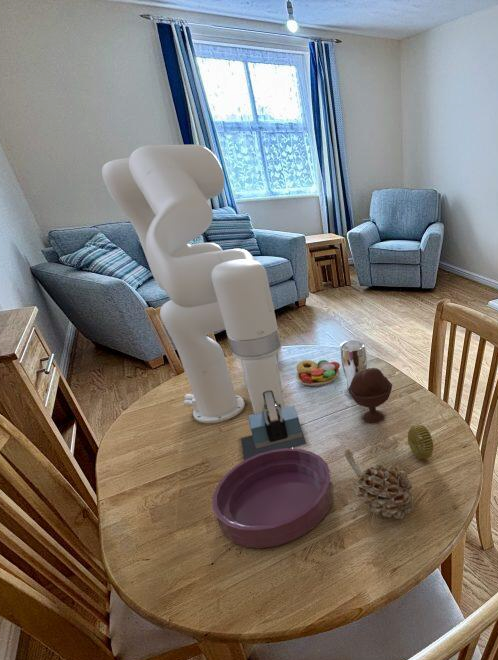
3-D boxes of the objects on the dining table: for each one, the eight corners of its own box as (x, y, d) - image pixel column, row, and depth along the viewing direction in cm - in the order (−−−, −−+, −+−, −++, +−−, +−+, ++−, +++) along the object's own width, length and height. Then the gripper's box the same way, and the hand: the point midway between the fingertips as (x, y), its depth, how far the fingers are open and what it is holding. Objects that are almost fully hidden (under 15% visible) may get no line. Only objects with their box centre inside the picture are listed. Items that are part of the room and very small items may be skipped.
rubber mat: (244, 461, 93) (243, 460, 93) (241, 439, 100) (241, 438, 100) (306, 444, 98) (306, 443, 98) (299, 424, 105) (299, 423, 105)
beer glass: (346, 386, 122) (340, 340, 114) (370, 385, 122) (366, 339, 114) (344, 399, 116) (338, 351, 108) (369, 398, 116) (364, 350, 108)
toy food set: (297, 368, 131) (295, 359, 129) (339, 364, 134) (338, 355, 132) (295, 390, 120) (294, 380, 118) (342, 384, 122) (340, 375, 121)
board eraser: (256, 448, 73) (250, 428, 70) (253, 434, 76) (248, 415, 74) (302, 436, 76) (298, 417, 73) (297, 423, 79) (294, 404, 77)
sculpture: (405, 448, 97) (404, 420, 93) (420, 442, 99) (419, 415, 95) (420, 468, 91) (420, 440, 87) (436, 462, 93) (436, 434, 89)
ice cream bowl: (396, 406, 112) (394, 358, 105) (389, 431, 103) (385, 380, 95) (358, 404, 113) (353, 356, 106) (347, 428, 104) (341, 377, 96)
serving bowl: (197, 546, 74) (187, 525, 71) (251, 464, 92) (245, 445, 90) (313, 554, 73) (309, 533, 70) (345, 469, 91) (342, 450, 88)
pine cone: (429, 513, 81) (429, 475, 75) (392, 543, 75) (389, 504, 70) (360, 460, 94) (356, 425, 89) (324, 482, 88) (317, 446, 83)
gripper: (227, 325, 71) (250, 411, 80) (233, 369, 58) (260, 466, 67) (272, 318, 73) (290, 402, 83) (288, 359, 61) (306, 453, 70)
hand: (276, 430), depth 75 cm, fingers closed on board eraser, 4 cm apart
